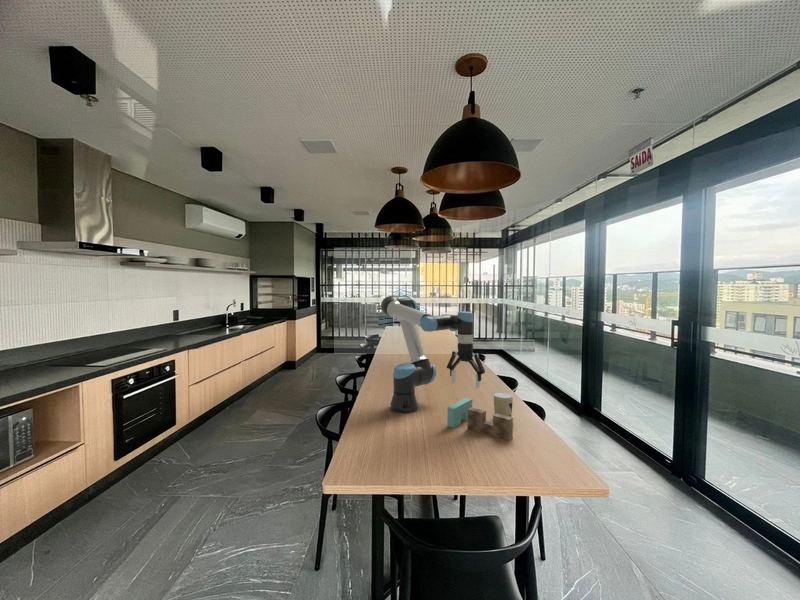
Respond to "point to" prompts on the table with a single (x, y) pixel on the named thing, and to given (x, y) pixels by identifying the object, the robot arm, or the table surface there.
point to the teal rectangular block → (458, 412)
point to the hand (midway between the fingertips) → (465, 385)
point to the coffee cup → (503, 404)
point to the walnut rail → (490, 424)
